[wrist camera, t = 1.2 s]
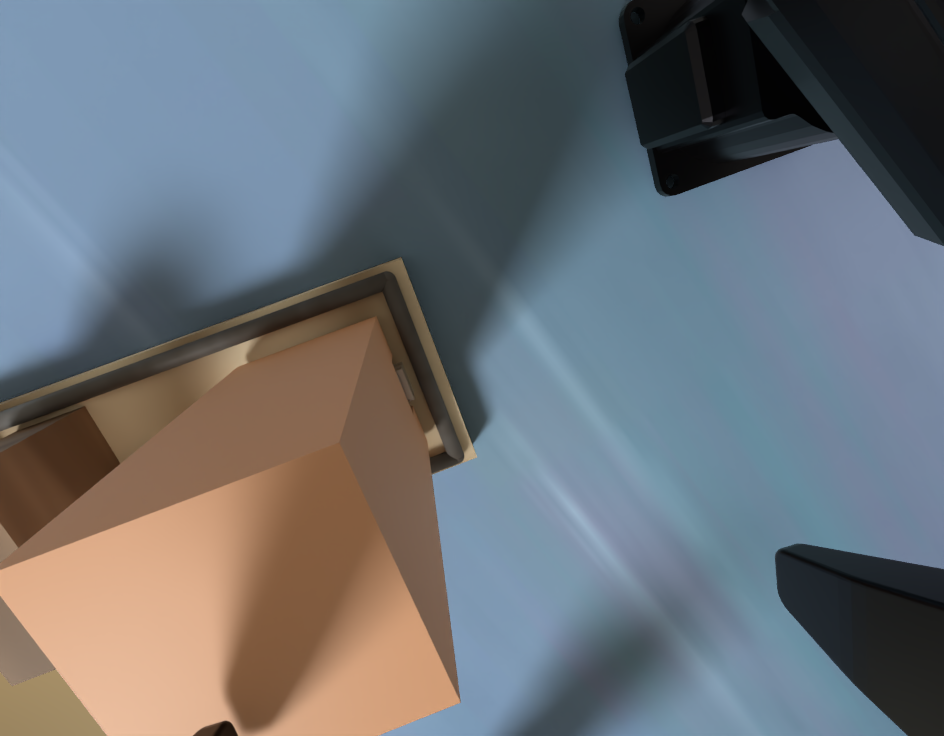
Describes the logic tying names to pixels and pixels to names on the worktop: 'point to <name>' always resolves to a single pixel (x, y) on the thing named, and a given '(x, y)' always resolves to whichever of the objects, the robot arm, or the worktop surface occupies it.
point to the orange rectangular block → (256, 560)
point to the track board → (248, 339)
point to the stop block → (42, 507)
